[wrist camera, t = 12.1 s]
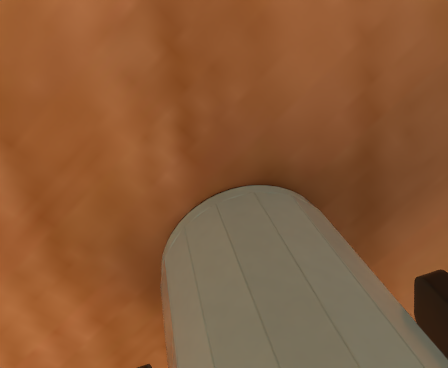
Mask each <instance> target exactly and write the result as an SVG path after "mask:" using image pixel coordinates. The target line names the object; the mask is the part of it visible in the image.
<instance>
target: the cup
mask: <svg viewBox="0 0 448 368" xmlns="http://www.w3.org/2000/svg"><path fill="white" fill-rule="evenodd" d="M161 297H162V308H163V319H164V330H165V341H166V351H167V362H168V368H448V359H447V358H446V357H445V356H444V355H443V353H442V352H441V351H440V350H439V349H438V348H437V346H436V345H435V344H434V343H433V342H432V341H431V339H430V338H429V337H428V336H427V335H426V334H425V332H424V331H423V330H422V329H421V328H420V327H419V325H418V324H417V323H416V322H415V321H414V320H413V318H412V317H411V316H410V315H409V314H408V313H407V311H406V310H405V309H404V308H403V307H402V306H401V304H400V303H399V302H398V301H397V300H396V299H395V297H394V296H393V295H392V294H391V293H390V292H389V290H388V289H387V288H386V287H385V286H384V284H383V283H382V282H381V281H380V280H379V279H378V277H377V276H376V275H375V274H374V273H373V272H372V270H371V269H370V268H369V267H368V266H367V265H366V263H365V262H364V261H363V260H362V259H361V258H360V256H359V255H358V254H357V253H356V252H355V251H354V249H353V248H352V247H351V246H350V245H349V244H348V242H347V241H346V240H345V239H344V238H343V237H342V235H341V234H340V233H339V232H338V231H337V230H336V228H335V227H334V226H333V225H332V224H331V223H330V221H329V220H328V219H327V218H326V217H325V216H324V214H323V213H322V212H321V211H320V210H319V209H318V208H316V207H315V206H314V205H313V204H312V203H311V202H310V201H309V200H307V199H306V198H304V197H303V196H301V195H299V194H297V193H295V192H293V191H291V190H288V189H284V188H281V187H276V186H268V185H252V186H243V187H239V188H234V189H230V190H227V191H225V192H222V193H219V194H217V195H215V196H213V197H211V198H209V199H207V200H206V201H204V202H202V203H201V204H199V205H198V206H196V207H195V208H194V209H193V210H192V211H190V212H189V213H188V214H187V215H186V216H185V217H184V218H183V219H182V220H181V221H180V222H179V224H178V225H177V227H176V228H175V229H174V231H173V232H172V234H171V236H170V238H169V239H168V241H167V244H166V246H165V249H164V252H163V256H162V261H161Z"/></svg>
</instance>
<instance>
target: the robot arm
mask: <svg viewBox="0 0 448 368" xmlns="http://www.w3.org/2000/svg"><path fill="white" fill-rule="evenodd" d="M414 315H415V319H416V322H417V324H418V325H419V327H420V328H421V329H422V330H423V331H424V332H425V334H426V335H427V336H428V337H429V338H430V339H431V341H432V342H433V343H434V344H435V345H436V346H437V348H438V349H439V350H440V351H441V352H442V353H443V355H444V356H445V357H446V358H447V359H448V273H447V272H446V271H444V270H437V271H434V272H431V273H428V274H425V275H422V276H419V277H416V279H415V283H414ZM138 368H152V367H151V365H150V364H147V365H144V366H141V367H138Z"/></svg>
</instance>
